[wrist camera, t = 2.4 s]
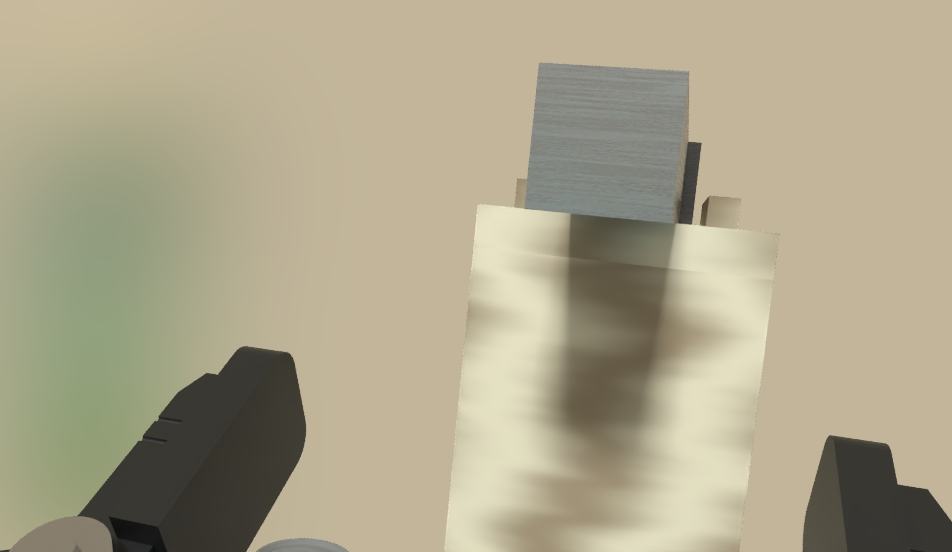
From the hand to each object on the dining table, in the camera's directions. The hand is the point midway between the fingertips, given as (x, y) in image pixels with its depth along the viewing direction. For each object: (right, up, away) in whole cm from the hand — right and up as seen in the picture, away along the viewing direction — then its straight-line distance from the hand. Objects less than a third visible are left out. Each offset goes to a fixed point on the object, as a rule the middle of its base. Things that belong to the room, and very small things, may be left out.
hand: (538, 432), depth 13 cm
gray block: (+5, +4, +18) cm, 19 cm away
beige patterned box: (+2, -27, +25) cm, 37 cm away
